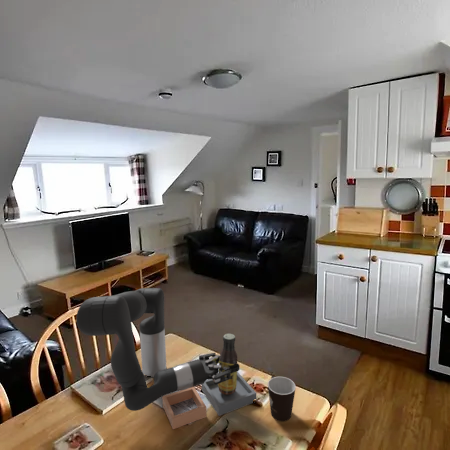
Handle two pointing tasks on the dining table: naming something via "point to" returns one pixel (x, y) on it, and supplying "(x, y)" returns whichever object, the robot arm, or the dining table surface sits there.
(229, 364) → the sauce bottle
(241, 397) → the tray
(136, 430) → the dining table surface
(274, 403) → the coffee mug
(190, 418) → the holder box
